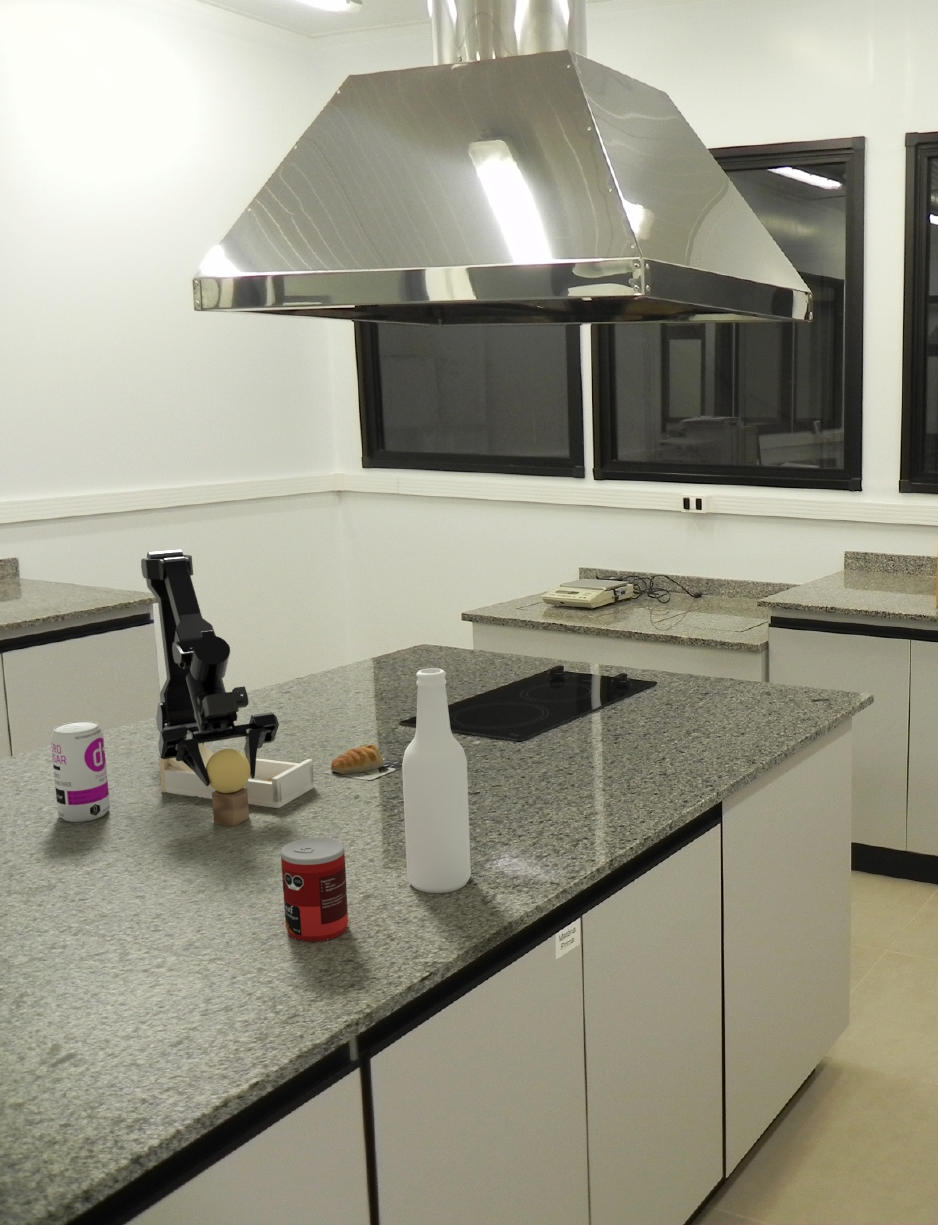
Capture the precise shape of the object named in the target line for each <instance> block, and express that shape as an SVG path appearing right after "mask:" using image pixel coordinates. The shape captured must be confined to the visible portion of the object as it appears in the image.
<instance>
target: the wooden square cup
mask: <svg viewBox="0 0 938 1225" xmlns="http://www.w3.org/2000/svg"><path fill="white" fill-rule="evenodd" d="M211 802H212V803H211V804H212V814H213V824H217V825H223V826H228V827H229V826H230V827H237V826H238V825H240V824H241V823H243V822H245V821H247V820H248V819H250V812H249V809H250V808H249V804H248V793H247V788H246V787H243V788H241V789H240V790H238V791H236V792H233V793H222V792H219V791H217V790H216V791H214V792H212V799H211Z"/></svg>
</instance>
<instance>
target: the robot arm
mask: <svg viewBox="0 0 938 1225" xmlns="http://www.w3.org/2000/svg"><path fill="white" fill-rule="evenodd" d="M140 562H141V563H140V567H141V574H142V578H144V579H145V580H146V587H147V589H148V590H149V591H150V592H151V594H152V595H153V597H154V598H155V599H157V605H158V613H159V623H160V629H161V630H160V632H161V639H162V647H163V655H164V656H163V657H164V658H163V659H164V663H165V665H164V666H165V673H166V680H165V682H164V684H163V686H162V689H161V691H160V693H159V698H160V700H159V701H160V702H158V704H157V710H156V716H155V721H156V728H157V731H158V732H159V740H158V744H157V746H158V751H159V752H158V753H159V755H160V757H161V758H162V759H169V758H175V757H176V761H183V762H184V763H185V764H186V765H187V766H188V767H190V768H191V769H192V770H193V771H194V772H195V774H196V775H197V776H198V777H199V778H200V779H201V781H202V782H203V783H204V784H205V785H206V786H209V778H208V774H207V771H206V768H205V765H204V762H203V760H202V757H201V754H200V751H199V745H198V744H199V743H203V745H204V746H205V743H212V742H216V741H223V740H230V739H236V738H237V739H238V738H244V740H245V744H244V748H243V751H244V756H245V757H246V758H247V760H248V762H249V764H250V776H251V778H252V779H253V778H254V777H255V768H256V758H257V752H258V749H261V748H262V747H263V745H264V744H270V743H272V742H275V739H276V735H277V732H278V730H279V727H280V722H279V720H278V716H277V715H276V714H274V713H273V711H268V712H264V713H263V712H262V713H257V714H251V715H250V720H249V722H248V723H246V724H245V723H244V724H239V725H236V724H235V722H237V720H238V714H237V713H238V712H239V711H240V710H239V709H242V708H246V707H247V706H248V705H250V704H249V703H250V702H249V697H248V692H247V689H246V687H245V685H244V686H237V687H234V688H233V689H232V690H231V691H229V692H228V691H226V687H225V683H224V680H223V678H224V677H225V676H226V673H227V668H228V663H229V660H230V656H231V646H230V644H229V643H227V641H226V640H225V639H223V638H222V637H220V636H218V635H216V633H215V630H214V627H213V624H211V623H210V622H209V621H208V620H205V619H204V618H203V616H202V612H201V609H200V604H199V602H198V598H197V594H196V590H195V587H194V585H193V584H194V583H193V580H192V576H194V569H193V568H194V566H193V555H190V554H184V552H183V551H182V549H173V550H172V549H170V550H158V551H157V550H156V551H148V552H147V553H146V558H141V560H140Z"/></svg>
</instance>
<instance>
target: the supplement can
mask: <svg viewBox="0 0 938 1225" xmlns="http://www.w3.org/2000/svg"><path fill="white" fill-rule="evenodd" d="M50 747H51V748H50V749H51V755H52V756H51V757H52V758H51V759H52V766H53V769H52V770H53V777H54V788H55V797H56V805H57V815H58V817H59V818H62V820H64V821H66V822H71V823H82V822H83V823H84V822H88V821H94V820H96V819H101V818H102V817H103V816H105V815H106V814H107V812H108V811H109V810H110V808H111V804H110V803H111V802H110V793H109V784H108V783H109V782H108V780H109V779H108V770H107V760H106V750H105V739H104V732H103V730H102V728H101V727H100V726H99V723H98V722H96V721H94V720H93V721H92V720H76V721H75V720H74V721H70V722H69V721H68V722H64V723H61V724H59V725H56V726H54V727H53V731H52V733H51V736H50Z"/></svg>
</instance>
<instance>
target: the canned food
mask: <svg viewBox="0 0 938 1225" xmlns="http://www.w3.org/2000/svg"><path fill="white" fill-rule="evenodd" d="M344 847H345V846H344V844H343V843H342V842H341V841H340V840H337V839H333V838H329V837H308V838H301V839H297V840H295V841H294V840H293V841H291V842H289V843H287V844H285V845H284V846H283V847H282V848H281V849H280V850H281V852H280V854H281V855H280V861H281V862H280V863H281V878H282V880H281V881H282V889H283V890H282V893H283V905H284V908H283V909H284V921H285V922H284V923H285V928H286V930H287V933H288V935H289V936H290V938H293V939H295V938H296V939H295V940H297V939H299V940H298V941H300V940H303V941H302V942H306V941H312V942H311V943H315V942H314V941H320V942H325V941H324V940H326V941H328V940H327V939H330V940H332V939H331V938H333V939H335V937H336V938H338V937H340V936H342V933H343V934H344V933H345V932H346V930H347V928H348V924H349V912H348V892H347V890H348V889H347V874H346V872H347V871H346V870H347V869H346V856H345V848H344ZM339 935H340V936H339Z"/></svg>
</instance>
